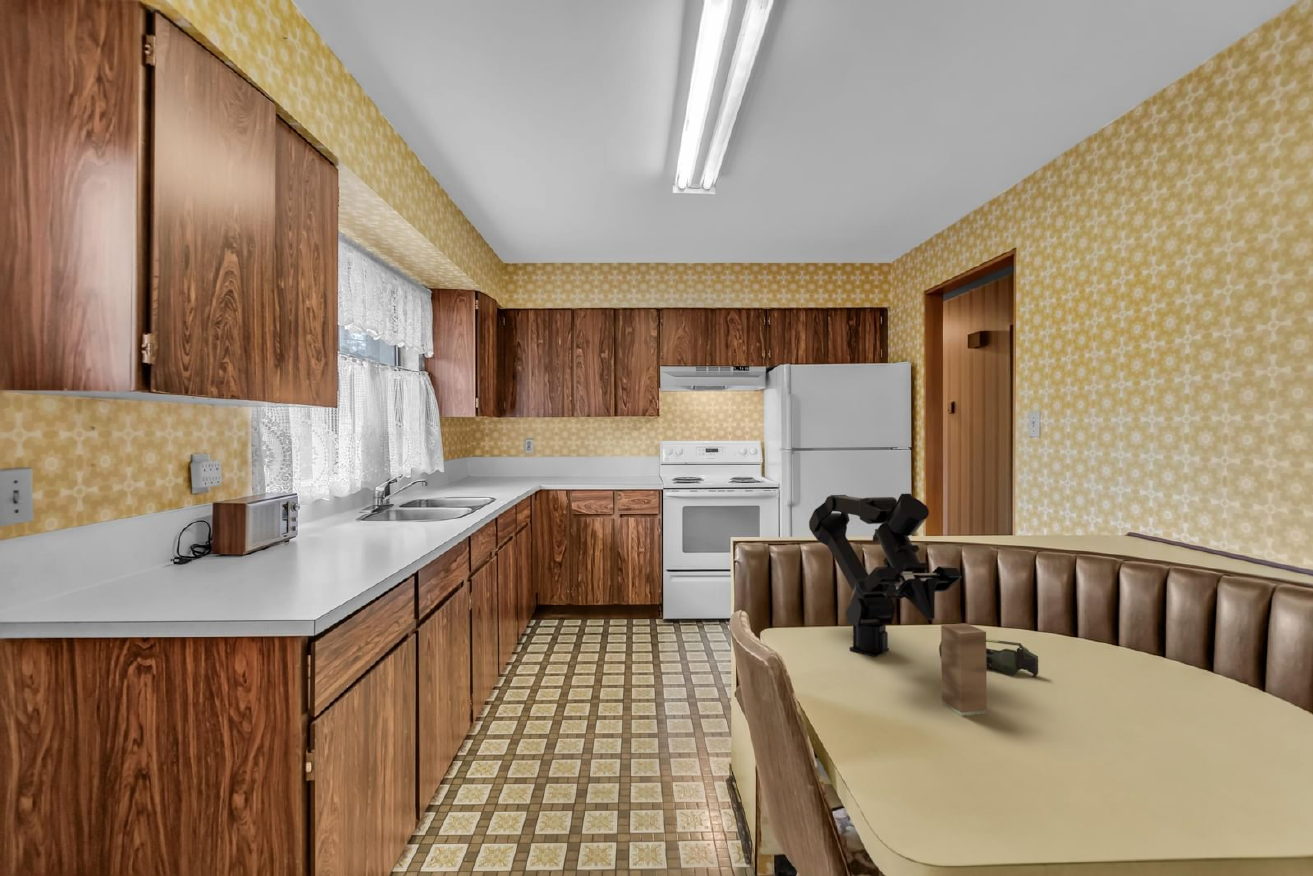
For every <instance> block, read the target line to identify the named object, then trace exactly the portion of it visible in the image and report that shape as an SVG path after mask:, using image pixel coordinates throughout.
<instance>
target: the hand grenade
mask: <svg viewBox="0 0 1313 876" xmlns="http://www.w3.org/2000/svg"><path fill="white" fill-rule="evenodd" d="M986 643H995V644H1003V645H1009V646H1010V645H1011V646H1018V647H1017V649H1016V650H1014V649H1010V648H1003V649H1001V650H997V649H992V648H987V647H986V668H992V669H996V670H999V671H1000V672H1001V673H1002V674H1005V673H1007V674H1006V675H1010V674H1011V675H1012V676H1016V675H1017V674H1018V671H1020V670H1024V671H1027V672H1028V673H1030V674H1032V678H1036V677H1037V676H1038V674H1039V656H1038V655H1036V654H1034V653H1033V652H1031V651H1030V650H1029V648H1027V647H1025V646H1024V645H1023V644H1022V643H1020V642H1013V641H1006V640H999V639H997V640H996V639H992V638H991V639H989V638H986ZM938 652H939V657H940V658H941V642H940V644H939V646H938Z"/></svg>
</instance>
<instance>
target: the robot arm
mask: <svg viewBox="0 0 1313 876" xmlns="http://www.w3.org/2000/svg"><path fill="white" fill-rule="evenodd" d="M849 515H853V516H857V517H859V520H860V521H862V522H863V523H865V524H868V525H877V524H879V526H878V527H877V528H876V529H874V533H873V535H872V542H874V543H876V542H879V544H880V546H881V548H882V552H883V553H884V555H885V558H884V559H883V565H884V566H876V567H874V569H873V570H872V571H871V572H870V573H868V572H867V569H866V568H865V566H864V564H863V563H862V561H861V560H860V558H859V556H858V555H857V553H856V551H855V550H854V548H853V546H852V544H851V543H850V541H849V540H848V538H847V535H846V534H847V529H848V524H849V522H850V520H851V519H850V516H849ZM929 515H930V511H929V508H928V506H927V505H926V504H925V503H923V502H922V501H921V500H920V499H918V498H915V497H913V495H912V493H909V492H908V493H901V494H900V495H899V497H898V499H896V498H895V497H893V496H879V497H877V496H875V497H874V496H873V497H863V498H862V497H854V496H851V495H850V496H849V495H846V494H831V495H828V496H827V497H826V499H825V501H824V502H823V503H822V504H821V505H819V506H818V507H817V508H815V509H814V511H813V512H812V514H811V516H810V518H809V521H808V525H809V530H810V532H811V533H812V535H813V536H814V537H815V539H816V541H817V542H820V543H821V544H824V545H825V546H827V547H828V549H829V551H830V553H831V554H832V557H833V558H834V560H835V561H836V563H837V565H838V567H839V569H840V570H841V572H842V575H843V576H844V577H845V580H846V581H847V583H848V585H849V587H850V589H851V596H850V605H849V606H848V608H847V609H846V610H845V617H846V621H847V622H848V623H850V624H852V642H853V643H852V646H850V647H848V648H849V651H851V652H855V653H858V654H859V653H860V654H864V655H867V656H871V657H875V658H877V657H879V656H881V655H883V654H885V653H887V652H889V651H890V647H889V639H888V638H889V636H888V635H889V633H888V631H886V629H887V628H886V627H887V625H892V624H893V620H894V616H895V611H896V607H897V606H896V602H895V599H904V598H905V599H907V600H908V601H909V602H910V603H911V604H912V605H913V606H914V607H915V609H916V610H918V611H919V613H920V614H922V615H923V617H924V618H925V619H927V620H928V621H932V620H934V619H935V598H936V597H935V595H936V592H947V591H949V590H950V589H951V588H952V587H953V586H954V585H956V583H958V582H959V581H960V580H962V578H963V576H962V574H961V573H960V570H959V569H958V567H956V566H954V565H951V566H949V565H946V566H945V565H944V566H941V565H938V566H937V567H936V568H935V569H934V570H933V571H932V572H927V573H926V570H927V569H928V568H929V565H928V564H927V563H928V562H921V559H920V557H919V555H918V552H919V551H920V547H919V545H918V544H915V545H914V544H913V543H912V541H911V538H910V536H913V535H915V534H916V532H917V531H918V530H919V528H920V527H921V526H922V525H923V523H924V522H925V521H926V519H927V518H928V517H929Z"/></svg>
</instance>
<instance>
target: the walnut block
mask: <svg viewBox="0 0 1313 876" xmlns="http://www.w3.org/2000/svg"><path fill="white" fill-rule="evenodd" d="M940 627H941V628H940V631H941V632H940V634H941V635H940V637H941V638H940V639H941V640H940V643H941V657H940V660H941V661H940V662H941V665H940V666H941V704H942V705H943V706H944V705H945V706H944V707H946V708H947V709H949V710H951V711H952V712H953V713H955V712H956V713H955V714H957V715H959V716H961V717H965V716H964V715H967V716H975V714H977V715H985V714H988V712H987V710H988V705H987V704H988V703H987V702H988V701H987V697H988V696H987V694H988V693H987V691H988V690H987V667H986V648H987V642H986V639H987V631H985V630H983V629H980V628H978V627H976V626H974V625H970V624H969V623H967V622H966V623H964V622H963V623H954V624H952V623H951V624H941V625H940ZM972 714H973V715H972Z"/></svg>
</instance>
